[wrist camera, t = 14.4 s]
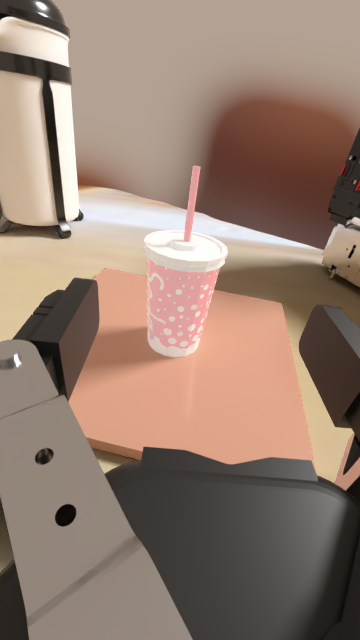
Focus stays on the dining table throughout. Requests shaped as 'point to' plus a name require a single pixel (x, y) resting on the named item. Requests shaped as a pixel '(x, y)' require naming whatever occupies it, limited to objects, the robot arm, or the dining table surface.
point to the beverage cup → (180, 283)
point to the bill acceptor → (346, 220)
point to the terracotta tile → (191, 381)
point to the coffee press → (36, 118)
